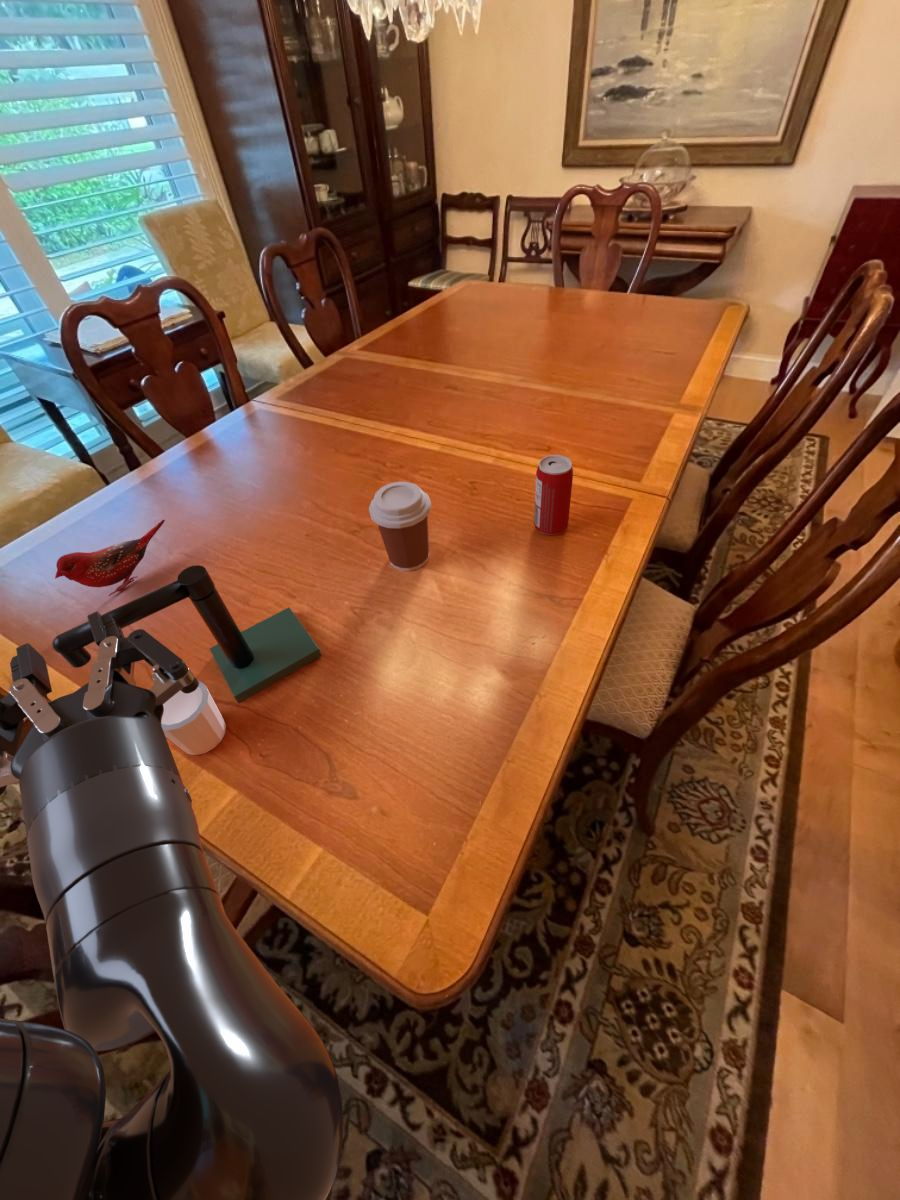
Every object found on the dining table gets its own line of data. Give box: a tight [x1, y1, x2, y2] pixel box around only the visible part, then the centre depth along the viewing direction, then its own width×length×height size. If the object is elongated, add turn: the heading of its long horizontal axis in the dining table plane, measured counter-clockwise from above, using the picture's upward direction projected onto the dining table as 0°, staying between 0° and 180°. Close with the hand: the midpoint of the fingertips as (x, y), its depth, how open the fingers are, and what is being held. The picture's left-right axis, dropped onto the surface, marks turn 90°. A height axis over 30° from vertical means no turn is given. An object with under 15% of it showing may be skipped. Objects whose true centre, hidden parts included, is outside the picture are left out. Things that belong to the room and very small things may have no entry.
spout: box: [52, 564, 216, 669], centre depth 59 cm, size 17×3×4 cm, turn 126°
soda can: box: [533, 454, 574, 536], centre depth 83 cm, size 6×6×12 cm
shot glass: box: [161, 679, 227, 756], centre depth 63 cm, size 7×7×7 cm
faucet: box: [189, 586, 323, 704], centre depth 68 cm, size 12×10×15 cm
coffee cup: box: [368, 481, 432, 572], centre depth 81 cm, size 9×9×12 cm
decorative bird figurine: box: [54, 519, 166, 597], centre depth 83 cm, size 3×18×10 cm, turn 146°
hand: (65, 637), depth 40 cm, fingers open, 4 cm apart
